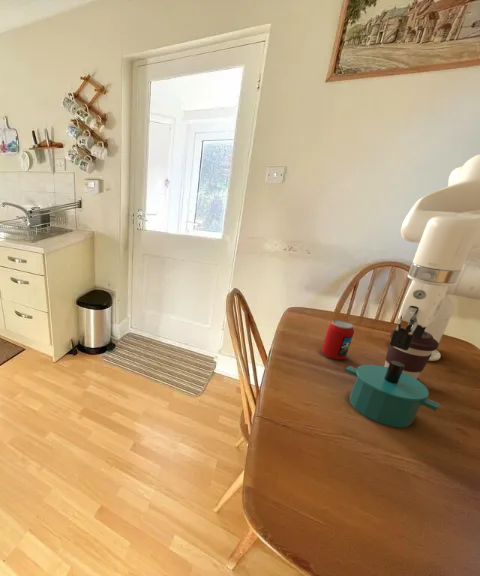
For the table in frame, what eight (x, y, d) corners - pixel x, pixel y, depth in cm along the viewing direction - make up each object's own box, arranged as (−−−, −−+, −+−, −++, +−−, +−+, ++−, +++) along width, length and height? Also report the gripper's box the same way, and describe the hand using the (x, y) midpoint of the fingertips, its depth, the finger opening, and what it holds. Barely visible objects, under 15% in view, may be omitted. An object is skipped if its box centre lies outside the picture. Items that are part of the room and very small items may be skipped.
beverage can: (346, 363, 101) (357, 330, 96) (321, 357, 104) (330, 325, 100) (344, 353, 106) (354, 322, 102) (320, 347, 110) (329, 317, 105)
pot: (349, 381, 92) (357, 357, 89) (433, 420, 78) (447, 393, 75) (329, 398, 86) (338, 372, 83) (417, 443, 72) (432, 414, 69)
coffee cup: (430, 388, 89) (451, 343, 84) (390, 384, 91) (408, 339, 86) (406, 368, 98) (423, 326, 93) (370, 364, 100) (385, 323, 95)
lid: (367, 362, 88) (374, 343, 86) (434, 389, 77) (444, 368, 75) (346, 379, 81) (353, 359, 79) (416, 411, 70) (427, 388, 68)
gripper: (446, 286, 61) (414, 360, 67) (467, 271, 70) (437, 338, 76) (396, 276, 67) (371, 345, 73) (421, 263, 76) (397, 326, 82)
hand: (405, 341), depth 75 cm, fingers open, 9 cm apart
